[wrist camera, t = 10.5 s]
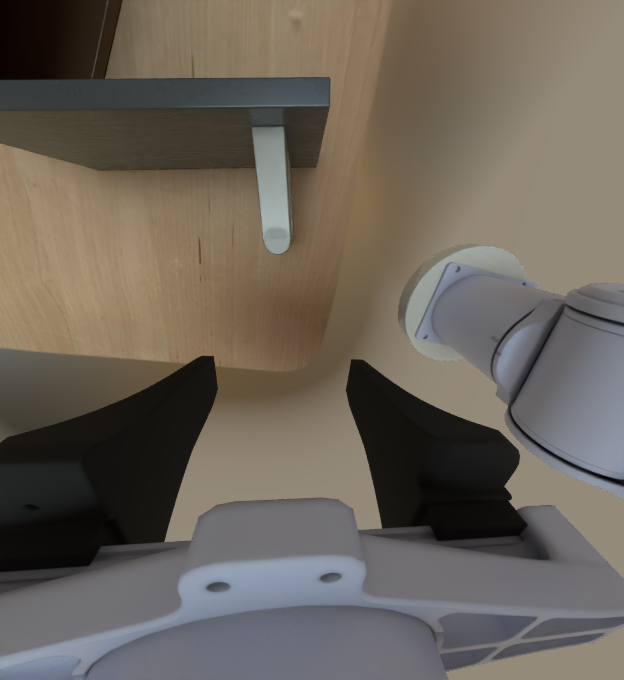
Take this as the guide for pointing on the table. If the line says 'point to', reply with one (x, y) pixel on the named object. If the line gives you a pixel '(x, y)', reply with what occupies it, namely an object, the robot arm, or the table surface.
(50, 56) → the cabinet
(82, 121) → the door
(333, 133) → the table surface
